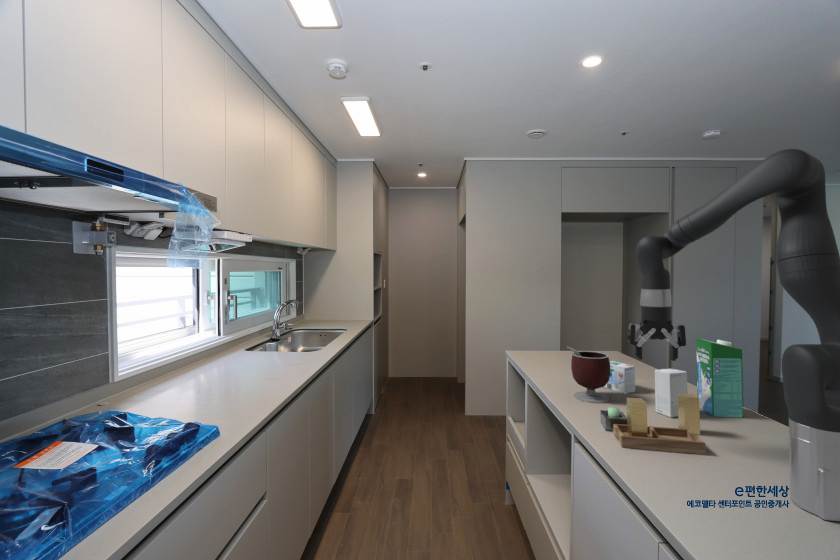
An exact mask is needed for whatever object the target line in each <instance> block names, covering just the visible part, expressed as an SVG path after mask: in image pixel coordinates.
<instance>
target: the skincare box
mask: <svg viewBox="0 0 840 560" xmlns="http://www.w3.org/2000/svg"><path fill="white" fill-rule="evenodd" d="M678 393H687V394H689V393H688V372H687V371H684V370H680V369H676V368H661V369H655V370H654V396H655V397H654V398H655V399H654V400H655V403H654V404H655V412H656V413H658V414H661V415H663V416H666V417H669V418H675V417H678Z"/></svg>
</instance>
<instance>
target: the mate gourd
mask: <svg viewBox="0 0 840 560" xmlns="http://www.w3.org/2000/svg"><path fill="white" fill-rule="evenodd" d="M566 349H568V350H569V351H572V356H571V363H570V364H571V367H570V368H571V375H572V377H573V378H572V379H574V381H575V382H576V383H577V385H579V386H581V387H584V388H585V389H586V391H585V390H582V391H576V392H575V393H574V395H573V396H574V397H573V398H575V399H576V400H578V401H581V402H583V401H584V402H585V403H588V402H589V404H605V403H608V402H609V400H610V399H609V396H608V395H606V394H604V393H601V392H597V391H596V389H600V388H604V386H605V385H606V384H607V383H608V381H609V378H610V361H611V360H610V358H609V354H607V353H605V352H599V351H591V350H590V351H589V350H588V351H587V350H581V351H580V350H579V351H578V350H576V349H574V348H572V347H570V346H566ZM584 402H583V403H584Z"/></svg>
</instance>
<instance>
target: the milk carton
mask: <svg viewBox="0 0 840 560" xmlns="http://www.w3.org/2000/svg"><path fill="white" fill-rule="evenodd" d="M695 340H696V341H695V343H696V345H695V346H696V379H697V380H696V384H697V385H696V388H697V389H696V391H697V395H696V396H697V397H698V398H699V405H700V410H702V411H704V412H706V413H707V414H708V415H710V416H711V417H717V418H718V417H719V418H740V419H744V418H745V417H744V415H745V414H744V379H743V377H744V375H743V373H744V372H743V368H744V367H743V349H741V348H740V347H739V348H738V347H735V346H732V342H730V341H726V340H722V339H717V340H716V341H712V340H707V339H703V338H700V337H699V338H698V337H696V338H695ZM742 407H743V408H742Z"/></svg>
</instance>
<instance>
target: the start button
mask: <svg viewBox="0 0 840 560" xmlns="http://www.w3.org/2000/svg"><path fill="white" fill-rule="evenodd" d="M607 411H608V417H620V412H621V411H620V409H619V407H613V406H610V407H607Z"/></svg>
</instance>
